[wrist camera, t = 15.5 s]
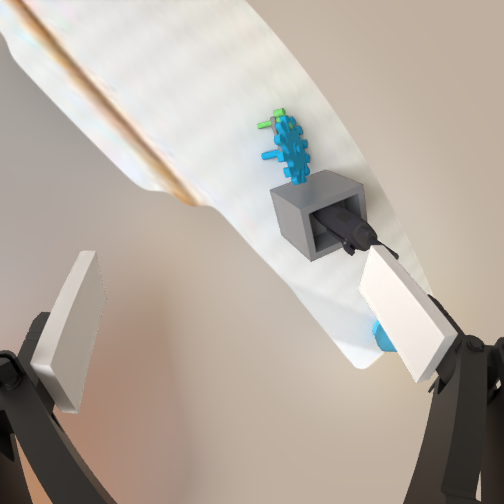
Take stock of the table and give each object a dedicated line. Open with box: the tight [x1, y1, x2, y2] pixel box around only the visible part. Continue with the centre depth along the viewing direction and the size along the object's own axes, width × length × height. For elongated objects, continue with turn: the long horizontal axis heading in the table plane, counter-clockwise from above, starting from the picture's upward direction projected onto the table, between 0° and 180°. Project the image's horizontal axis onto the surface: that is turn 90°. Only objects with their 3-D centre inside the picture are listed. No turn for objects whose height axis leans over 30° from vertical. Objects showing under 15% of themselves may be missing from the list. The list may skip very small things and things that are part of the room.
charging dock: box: [270, 170, 367, 262], centre depth 47 cm, size 8×10×10 cm
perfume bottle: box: [373, 321, 397, 352], centre depth 66 cm, size 9×9×15 cm
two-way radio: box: [313, 203, 399, 260], centre depth 39 cm, size 6×4×15 cm
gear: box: [257, 108, 310, 185], centre depth 43 cm, size 11×6×10 cm
